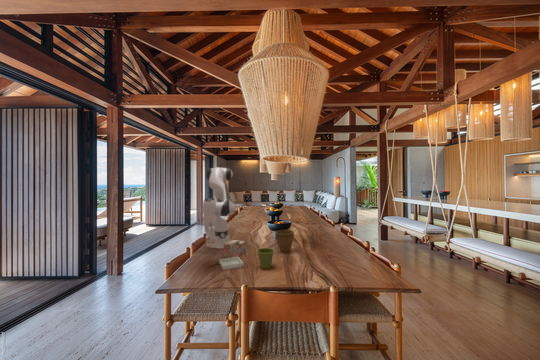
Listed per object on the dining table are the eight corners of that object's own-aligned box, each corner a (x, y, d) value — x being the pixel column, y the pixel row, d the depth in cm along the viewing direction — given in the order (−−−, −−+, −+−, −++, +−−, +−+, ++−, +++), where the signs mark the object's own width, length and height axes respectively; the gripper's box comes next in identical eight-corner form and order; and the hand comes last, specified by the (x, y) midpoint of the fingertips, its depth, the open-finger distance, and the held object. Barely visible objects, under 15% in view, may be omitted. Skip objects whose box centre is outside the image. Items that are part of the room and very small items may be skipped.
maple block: (205, 245, 162) (205, 238, 162) (213, 244, 164) (213, 237, 164) (206, 247, 157) (206, 239, 157) (214, 246, 159) (214, 239, 159)
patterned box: (239, 251, 196) (239, 236, 196) (245, 252, 194) (245, 237, 193) (223, 259, 177) (223, 243, 177) (230, 261, 174) (230, 244, 174)
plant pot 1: (258, 271, 154) (257, 253, 154) (256, 264, 166) (256, 248, 166) (276, 269, 156) (275, 252, 156) (273, 263, 168) (273, 247, 168)
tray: (218, 263, 169) (218, 259, 169) (238, 260, 174) (238, 256, 174) (222, 270, 156) (222, 265, 156) (243, 267, 161) (243, 262, 161)
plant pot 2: (277, 248, 204) (277, 229, 204) (294, 249, 201) (294, 230, 201) (274, 253, 190) (274, 233, 190) (293, 254, 187) (292, 234, 187)
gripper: (217, 224, 152) (217, 246, 152) (212, 219, 171) (212, 238, 171) (207, 225, 150) (207, 247, 150) (203, 220, 169) (203, 239, 169)
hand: (209, 242), depth 161 cm, fingers closed on maple block, 5 cm apart
